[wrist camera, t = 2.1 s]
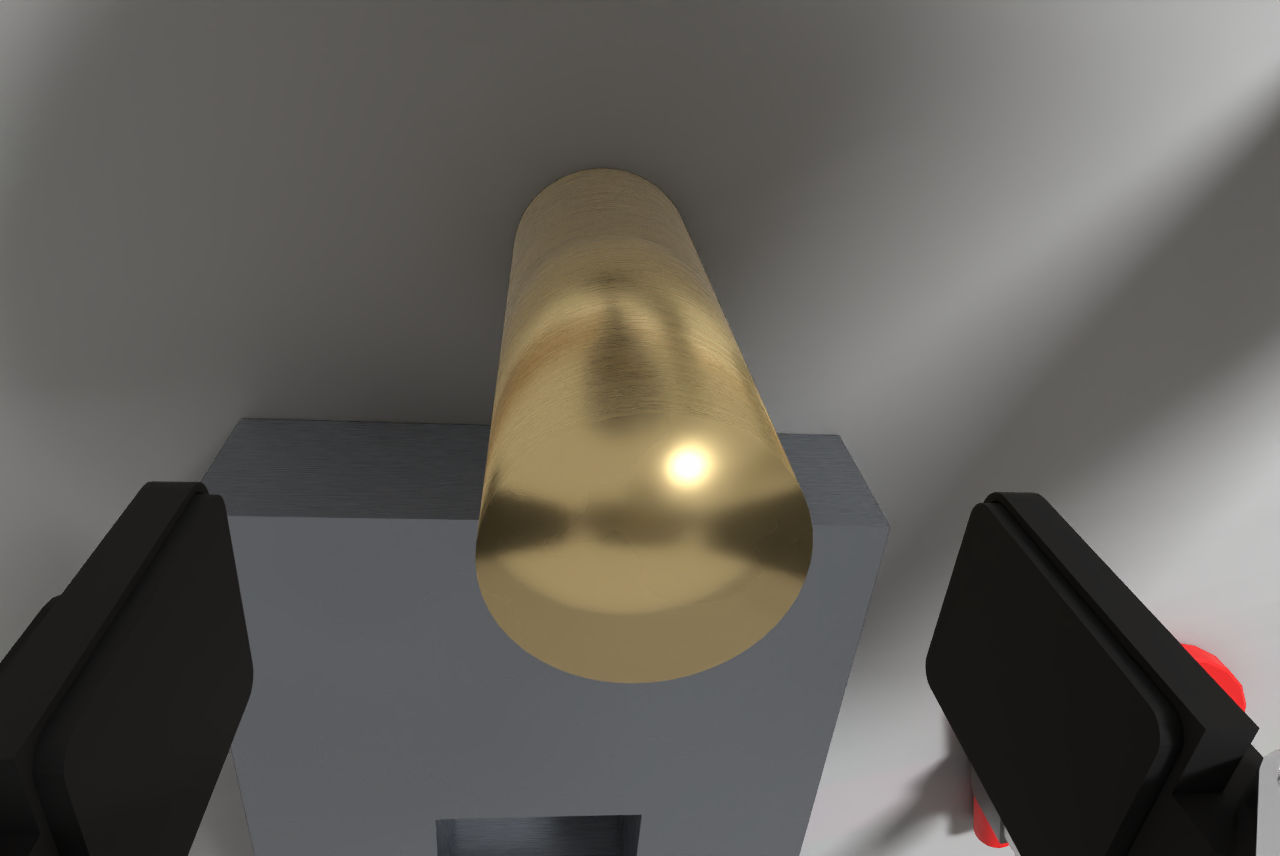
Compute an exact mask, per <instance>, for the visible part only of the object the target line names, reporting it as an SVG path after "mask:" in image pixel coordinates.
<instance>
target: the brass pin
mask: <svg viewBox="0 0 1280 856" xmlns="http://www.w3.org/2000/svg"><path fill="white" fill-rule="evenodd" d="M812 549H813V527H812V522H811V517H810V511H809V508H808V506H807V503H806V500H805V497H804V495H803V492H802V490H801V488H800V485H799V483H798V481H797V479H796V476H795V474H794V472H793V470H792V467H791V465H790V463H789V461H788V458H787V456H786V454H785V451H784V449H783V447H782V445H781V442H780V440H779V438H778V436H777V433H776V431H775V429H774V427H773V424H772V422H771V420H770V417H769V415H768V413H767V411H766V408H765V406H764V404H763V402H762V399H761V397H760V395H759V393H758V390H757V388H756V386H755V383H754V381H753V379H752V377H751V374H750V372H749V370H748V368H747V365H746V363H745V361H744V359H743V356H742V354H741V352H740V349H739V347H738V345H737V343H736V340H735V338H734V336H733V334H732V331H731V329H730V327H729V325H728V322H727V320H726V318H725V316H724V313H723V311H722V309H721V306H720V304H719V302H718V300H717V297H716V295H715V293H714V291H713V288H712V286H711V284H710V282H709V279H708V277H707V275H706V272H705V270H704V268H703V266H702V263H701V261H700V259H699V257H698V254H697V252H696V250H695V248H694V245H693V243H692V241H691V238H690V236H689V234H688V232H687V229H686V227H685V225H684V223H683V220H682V218H681V216H680V214H679V213H678V211H677V209H676V207H675V206H674V205H673V203H672V202H671V201H670V199H669V198H668V197H667V196H666V195H665V194H664V193H663V192H662V191H661V190H660V189H658V188H657V187H656V186H655V185H653V184H652V183H650V182H649V181H647V180H645V179H644V178H642V177H639V176H637V175H635V174H632V173H629V172H625V171H622V170H616V169H609V168H595V169H588V170H582V171H578V172H575V173H571V174H569V175H567V176H564V177H562V178H560V179H558V180H557V181H555V182H553V183H552V184H550V185H549V186H548V187H546V188H545V189H544V190H543V191H541V192H540V193H539V194H538V195H537V197H536V198H535V199H534V200H533V201H532V202H531V204H530V205H529V206H528V208H527V209H526V211H525V213H524V215H523V217H522V218H521V221H520V223H519V226H518V229H517V232H516V237H515V241H514V249H513V257H512V265H511V272H510V280H509V288H508V296H507V304H506V312H505V320H504V328H503V335H502V343H501V351H500V359H499V367H498V375H497V383H496V391H495V398H494V406H493V414H492V422H491V430H490V438H489V446H488V454H487V462H486V469H485V477H484V485H483V493H482V501H481V509H480V517H479V525H478V532H477V540H476V554H475V564H476V574H477V580H478V583H479V587H480V591H481V594H482V597H483V599H484V601H485V603H486V605H487V608H488V610H489V611H490V613H491V614H492V616H493V617H494V619H495V620H496V622H497V624H498V625H499V626H500V627H501V628H502V630H503V631H504V632H505V633H506V634H507V635H508V636H509V637H510V638H511V639H512V640H513V641H514V642H515V643H516V644H518V645H519V646H520V647H521V648H522V649H524V650H525V651H526V652H528V653H529V654H531V655H533V656H534V657H536V658H537V659H539V660H540V661H542V662H544V663H546V664H548V665H550V666H552V667H554V668H557V669H559V670H562V671H565V672H568V673H570V674H573V675H576V676H580V677H584V678H589V679H593V680H599V681H606V682H613V683H650V682H659V681H666V680H673V679H677V678H681V677H685V676H689V675H693V674H696V673H699V672H702V671H705V670H707V669H710V668H713V667H715V666H717V665H719V664H722V663H724V662H726V661H728V660H730V659H732V658H733V657H735V656H737V655H739V654H740V653H742V652H744V651H745V650H747V649H748V648H750V647H751V646H752V645H754V644H755V643H756V642H758V641H759V640H760V639H762V638H763V637H764V636H765V635H766V634H767V633H768V632H769V631H770V630H771V629H773V628H774V627H775V626H776V625H777V623H778V622H779V621H780V620H781V619H782V618H783V616H784V615H785V614H786V613H787V612H788V610H789V609H790V607H791V606H792V604H793V603H794V601H795V600H796V598H797V596H798V594H799V592H800V590H801V588H802V586H803V584H804V582H805V579H806V576H807V573H808V570H809V566H810V563H811V556H812Z"/></svg>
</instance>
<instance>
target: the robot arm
mask: <svg viewBox="0 0 1280 856" xmlns="http://www.w3.org/2000/svg"><path fill="white" fill-rule="evenodd" d="M926 676H927V680H928V683H929V685H930V688H931V690H932V692H933V693H934V695H935V697H936V699H937V701H938V703H939V705H940V706H941V708H942V710H943V712H944V714H945V716H946V718H947V719H948V721H949V723H950V725H951V727H952V729H953V731H954V733H955V734H956V736H957V738H958V740H959V742H960V744H961V746H962V747H963V749H964V751H965V753H966V755H967V757H968V759H969V761H970V762H971V764H972V766H973V768H974V770H975V772H976V774H977V775H978V777H979V779H980V781H981V783H982V785H983V787H984V788H985V790H986V792H987V794H988V796H989V798H990V800H991V802H992V803H993V805H994V807H995V809H996V811H997V813H998V815H999V816H1000V818H1001V820H1002V822H1003V824H1004V826H1005V828H1006V829H1007V831H1008V833H1009V835H1010V837H1011V839H1012V841H1013V843H1014V844H1015V846H1016V848H1017V850H1018V852H1019V854H1020V856H1280V749H1279V750H1275V751H1273V752H1271V753H1270V754H1268V755H1267V756H1265V757H1264V758H1263V757H1262V756H1261V755H1260V753H1259V752H1258V751H1257V750H1256V749H1255V748H1254V747H1253V746H1252V745H1251V742H1252V740H1253V739H1254V737H1255V735H1256V733H1257V732H1258V730H1259V727H1258V726H1257V725H1256V724H1255V723H1254V722H1253V721H1252V720H1251V719H1250V718H1249V717H1248V715H1247V714H1246V713H1245V712H1244V711H1243V710H1242V709H1241V708H1240V707H1239V706H1238V705H1237V704H1236V703H1235V702H1234V700H1233V699H1232V698H1231V697H1230V696H1229V695H1228V694H1227V693H1226V692H1225V691H1224V690H1223V689H1222V688H1221V687H1220V686H1219V684H1218V683H1217V682H1216V681H1215V680H1214V679H1213V678H1212V677H1211V676H1210V675H1209V674H1208V673H1207V672H1206V671H1205V669H1204V668H1203V667H1202V666H1201V665H1200V664H1199V663H1198V662H1197V661H1196V660H1195V659H1194V658H1193V657H1192V656H1191V655H1190V653H1189V652H1188V651H1187V650H1186V649H1185V648H1184V647H1183V646H1182V645H1181V644H1180V643H1179V642H1178V641H1177V640H1176V639H1175V637H1174V636H1173V635H1172V634H1171V633H1170V632H1169V631H1168V630H1167V629H1166V628H1165V627H1164V626H1163V625H1162V624H1161V622H1160V621H1159V620H1158V619H1157V618H1156V617H1155V616H1154V615H1153V614H1152V613H1151V612H1150V611H1149V610H1148V609H1147V608H1146V606H1145V605H1144V604H1143V603H1142V602H1141V601H1140V600H1139V599H1138V598H1137V597H1136V596H1135V595H1134V594H1133V593H1132V591H1131V590H1130V589H1129V588H1128V587H1127V586H1126V585H1125V584H1124V583H1123V582H1122V581H1121V580H1120V579H1119V578H1118V577H1117V575H1116V574H1115V573H1114V572H1113V571H1112V570H1111V569H1110V568H1109V567H1108V566H1107V565H1106V564H1105V563H1104V562H1103V561H1102V559H1101V558H1100V557H1099V556H1098V555H1097V554H1096V553H1095V552H1094V551H1093V550H1092V549H1091V548H1090V547H1089V546H1088V544H1087V543H1086V542H1085V541H1084V540H1083V539H1082V538H1081V537H1080V536H1079V535H1078V534H1077V533H1076V532H1075V531H1074V530H1073V528H1072V527H1071V526H1070V525H1069V524H1068V523H1067V522H1066V521H1065V520H1064V519H1063V518H1062V517H1061V516H1060V515H1059V513H1058V512H1057V511H1056V510H1055V509H1054V508H1053V507H1052V506H1051V505H1050V504H1049V503H1048V502H1047V501H1046V500H1045V499H1044V498H1043V497H1042V496H1041V495H1039V494H1037V493H1012V492H994V493H992V494H989V496H988V497H987V498H986V499H985V501H984V503H979V504H977V505H976V506H975V507H974V508H973V510H972V512H971V514H970V518H969V521H968V524H967V527H966V531H965V534H964V537H963V540H962V544H961V547H960V550H959V553H958V557H957V560H956V563H955V566H954V569H953V573H952V576H951V579H950V582H949V586H948V589H947V592H946V595H945V599H944V602H943V605H942V608H941V612H940V615H939V618H938V621H937V625H936V628H935V631H934V634H933V637H932V641H931V644H930V647H929V650H928V654H927V658H926ZM252 686H253V662H252V656H251V650H250V644H249V639H248V633H247V627H246V621H245V616H244V610H243V604H242V598H241V593H240V587H239V581H238V575H237V570H236V564H235V558H234V552H233V547H232V541H231V535H230V529H229V524H228V518H227V512H226V506H225V503H224V500H223V498H222V496H220V495H212V494H209V492H208V490H207V488H206V486H205V485H204V484H203V483H201V482H153V481H152V482H147V483H146V484H145V485H144V486H143V487H142V488H141V490H140V491H139V492H138V494H137V495H136V496H135V498H134V499H133V500H132V502H131V503H130V504H129V505H128V507H127V508H126V509H125V511H124V512H123V513H122V515H121V516H120V517H119V519H118V520H117V521H116V523H115V524H114V525H113V527H112V528H111V529H110V531H109V532H108V533H107V535H106V536H105V537H104V539H103V540H102V541H101V543H100V544H99V545H98V547H97V548H96V549H95V551H94V552H93V553H92V555H91V556H90V557H89V559H88V560H87V561H86V563H85V564H84V565H83V567H82V568H81V569H80V571H79V572H78V573H77V575H76V576H75V577H74V579H73V580H72V581H71V583H70V584H69V585H68V587H67V588H66V589H65V590H64V592H63V593H62V594H61V595H59V596H56V597H54V598H52V599H51V600H50V601H49V602H48V603H47V604H46V605H45V606H44V607H43V608H42V609H41V611H40V612H39V613H38V614H37V616H36V617H35V618H34V620H33V621H32V622H31V624H30V625H29V626H28V627H27V629H26V630H25V631H24V633H23V634H22V635H21V637H20V638H19V639H18V641H17V642H16V643H15V644H14V646H13V647H12V648H11V650H10V651H9V652H8V654H7V655H6V656H5V657H4V659H3V660H2V661H1V663H0V856H188V853H189V851H190V848H191V846H192V843H193V841H194V838H195V836H196V833H197V831H198V828H199V825H200V823H201V820H202V818H203V815H204V813H205V810H206V808H207V805H208V803H209V800H210V797H211V795H212V792H213V790H214V787H215V785H216V782H217V780H218V777H219V775H220V772H221V769H222V767H223V764H224V762H225V759H226V757H227V754H228V752H229V749H230V747H231V744H232V741H233V739H234V736H235V734H236V731H237V729H238V726H239V724H240V721H241V719H242V716H243V713H244V711H245V708H246V706H247V703H248V701H249V698H250V695H251V691H252Z"/></svg>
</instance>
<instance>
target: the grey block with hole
mask: <svg viewBox="0 0 1280 856" xmlns="http://www.w3.org/2000/svg"><path fill="white" fill-rule="evenodd" d="M490 430H491V426H487V425H451V424H416V423H381V422H345V421H310V420H274V419H240V421H239V422H238V424H237V426H236V427H235V429H234V430H233V432H232V433H231V435H230V437H229V438H228V440H227V441H226V443H225V444H224V446H223V448H222V449H221V451H220V452H219V454H218V455H217V457H216V459H215V460H214V462H213V463H212V465H211V466H210V468H209V469H208V471H207V473H206V474H205V476H204V477H203V479H202V480H201V483H203V484H204V485H205V486H206V488H207V490H208V492H209V494H212V495H220V496H222V498H223V500H224V503H225V506H226V512H227V518H228V524H229V529H230V535H231V541H232V547H233V552H234V558H235V564H236V570H237V575H238V581H239V587H240V593H241V598H242V604H243V610H244V616H245V621H246V627H247V633H248V639H249V644H250V650H251V656H252V662H253V686H252V691H251V695H250V698H249V701H248V703H247V706H246V708H245V711H244V713H243V716H242V719H241V721H240V724H239V726H238V729H237V731H236V734H235V736H234V739H233V741H232V744H231V751H232V755H233V760H234V764H235V769H236V773H237V778H238V782H239V787H240V791H241V796H242V800H243V805H244V809H245V814H246V818H247V823H248V827H249V832H250V836H251V841H252V845H253V850H254V854H255V856H799V854H800V851H801V847H802V844H803V840H804V836H805V833H806V829H807V826H808V822H809V818H810V815H811V811H812V807H813V804H814V800H815V797H816V793H817V789H818V786H819V782H820V779H821V775H822V771H823V768H824V764H825V761H826V757H827V753H828V750H829V746H830V742H831V739H832V735H833V732H834V728H835V724H836V721H837V717H838V714H839V710H840V706H841V703H842V699H843V695H844V692H845V688H846V685H847V681H848V677H849V674H850V670H851V667H852V663H853V659H854V656H855V652H856V648H857V645H858V641H859V638H860V634H861V630H862V627H863V623H864V620H865V616H866V612H867V609H868V605H869V602H870V598H871V594H872V591H873V587H874V583H875V580H876V576H877V573H878V569H879V565H880V562H881V558H882V555H883V551H884V547H885V544H886V540H887V536H888V533H889V529H890V525H889V523H888V522H887V520H886V518H885V516H884V515H883V513H882V511H881V509H880V507H879V506H878V504H877V502H876V500H875V498H874V497H873V495H872V493H871V491H870V490H869V488H868V486H867V484H866V482H865V481H864V479H863V477H862V475H861V473H860V472H859V470H858V468H857V466H856V465H855V463H854V461H853V459H852V457H851V456H850V454H849V452H848V450H847V448H846V447H845V445H844V443H843V441H842V440H841V438H840V436H839V435H806V434H777V436H778V438H779V440H780V442H781V445H782V447H783V449H784V451H785V454H786V456H787V458H788V461H789V463H790V465H791V467H792V470H793V472H794V474H795V476H796V479H797V481H798V483H799V485H800V488H801V490H802V492H803V495H804V497H805V500H806V503H807V506H808V508H809V511H810V517H811V522H812V527H813V549H812V556H811V563H810V566H809V570H808V573H807V576H806V579H805V582H804V584H803V586H802V588H801V590H800V592H799V594H798V596H797V598H796V600H795V601H794V603H793V604H792V606H791V607H790V609H789V610H788V612H787V613H786V614H785V615H784V616H783V618H782V619H781V620H780V621H779V622H778V623H777V625H776V626H775V627H774V628H773V629H771V630H770V631H769V632H768V633H767V634H766V635H765V636H764V637H763V638H762V639H760V640H759V641H758V642H756V643H755V644H754V645H752V646H751V647H750V648H748V649H747V650H745V651H744V652H742V653H740V654H739V655H737V656H735V657H733V658H732V659H730V660H728V661H726V662H724V663H722V664H719V665H717V666H715V667H713V668H710V669H707V670H705V671H702V672H699V673H696V674H693V675H689V676H685V677H681V678H677V679H673V680H666V681H659V682H650V683H613V682H606V681H599V680H593V679H589V678H584V677H580V676H576V675H573V674H570V673H568V672H565V671H562V670H559V669H557V668H554V667H552V666H550V665H548V664H546V663H544V662H542V661H540V660H539V659H537V658H536V657H534V656H533V655H531V654H529V653H528V652H526V651H525V650H524V649H522V648H521V647H520V646H519V645H518V644H516V643H515V642H514V641H513V640H512V639H511V638H510V637H509V636H508V635H507V634H506V633H505V632H504V631H503V630H502V628H501V627H500V626H499V625H498V624H497V622H496V620H495V619H494V617H493V616H492V614H491V613H490V611H489V610H488V608H487V605H486V603H485V601H484V599H483V597H482V594H481V591H480V587H479V583H478V580H477V574H476V564H475V554H476V540H477V532H478V525H479V517H480V509H481V501H482V493H483V485H484V477H485V469H486V462H487V454H488V446H489V438H490Z"/></svg>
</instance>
